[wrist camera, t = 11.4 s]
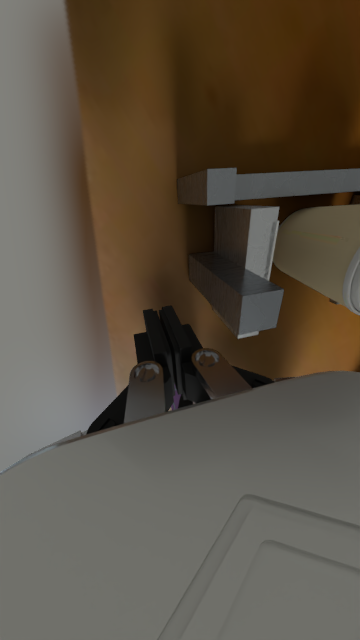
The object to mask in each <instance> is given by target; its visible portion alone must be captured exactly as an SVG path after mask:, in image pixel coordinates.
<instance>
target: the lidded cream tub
mask: <svg viewBox="0 0 360 640" xmlns="http://www.w3.org/2000/svg"><path fill="white" fill-rule="evenodd" d="M273 262H274V264H275V265H276V267H277V268H278V269H280V270H281V271H282V272H284V273H286V274H288V275H289V276H291V277H293V278H295V279H296V280H298V281H300V282H302V283H303V284H305V285H307V286H309V287H311V288H312V289H314V290H316V291H318V292H320V293H321V294H323V295H325V296H327V297H329V298H331V299H332V300H334V301H336V302H338V303H340V304H342V305H344V306H346V307H347V308H348V309H349V310H350V311H352V312H354V313H355V314H357V315H360V204H357V205H341V206H325V207H312V208H304V209H300V210H298V211H296V212H294V213H292V214H291V215H290V216H288V217H287V218H286V219H285V220H284V221H283V222H282V224H281V225H280V226H279V228H278V232H277V238H276V243H275V249H274V255H273Z"/></svg>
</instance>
